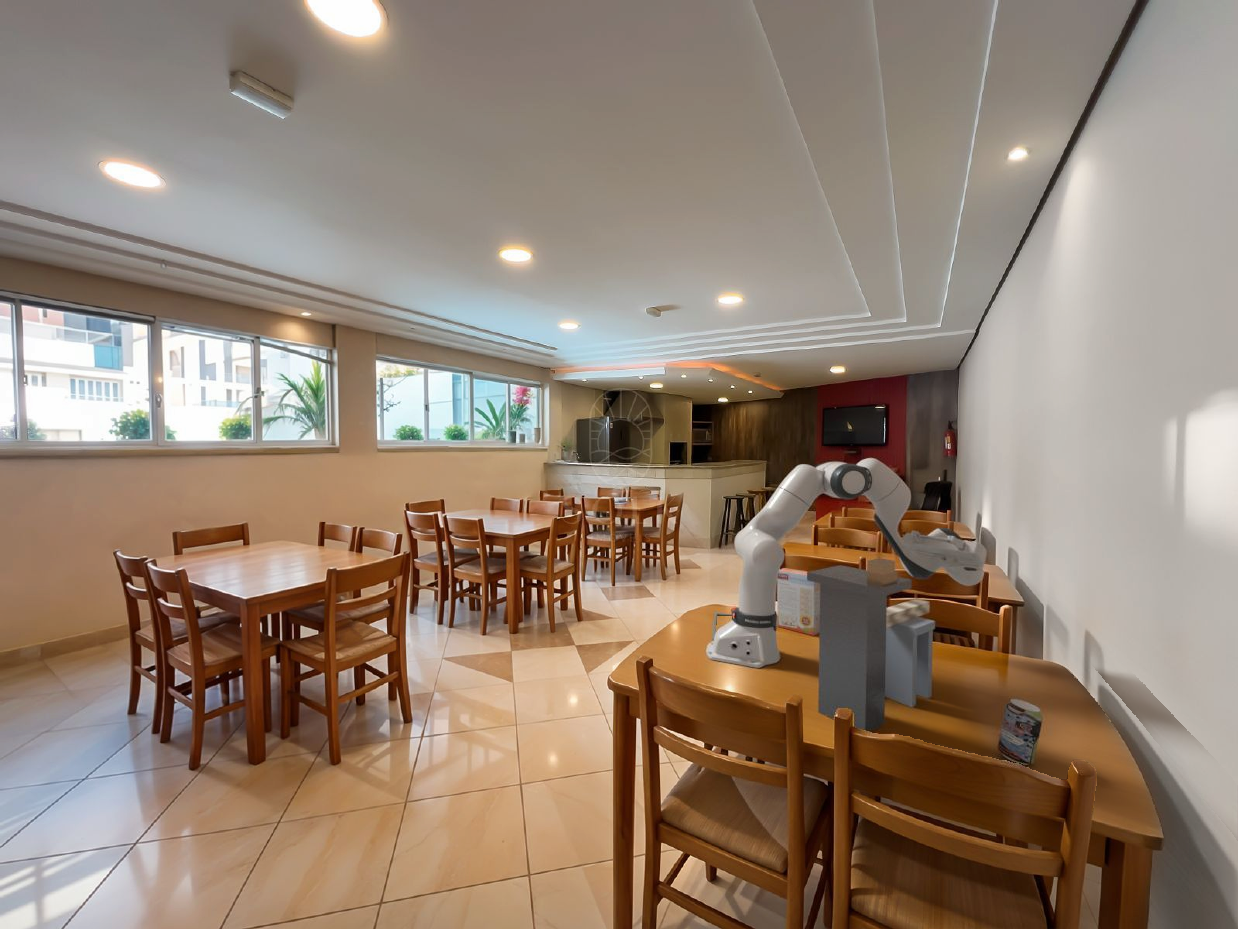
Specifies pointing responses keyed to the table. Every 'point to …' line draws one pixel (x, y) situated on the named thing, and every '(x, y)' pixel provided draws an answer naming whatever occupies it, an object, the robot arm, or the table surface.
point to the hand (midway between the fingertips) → (931, 535)
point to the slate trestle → (909, 660)
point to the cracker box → (798, 602)
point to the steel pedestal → (855, 638)
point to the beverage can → (1020, 731)
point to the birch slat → (906, 611)
